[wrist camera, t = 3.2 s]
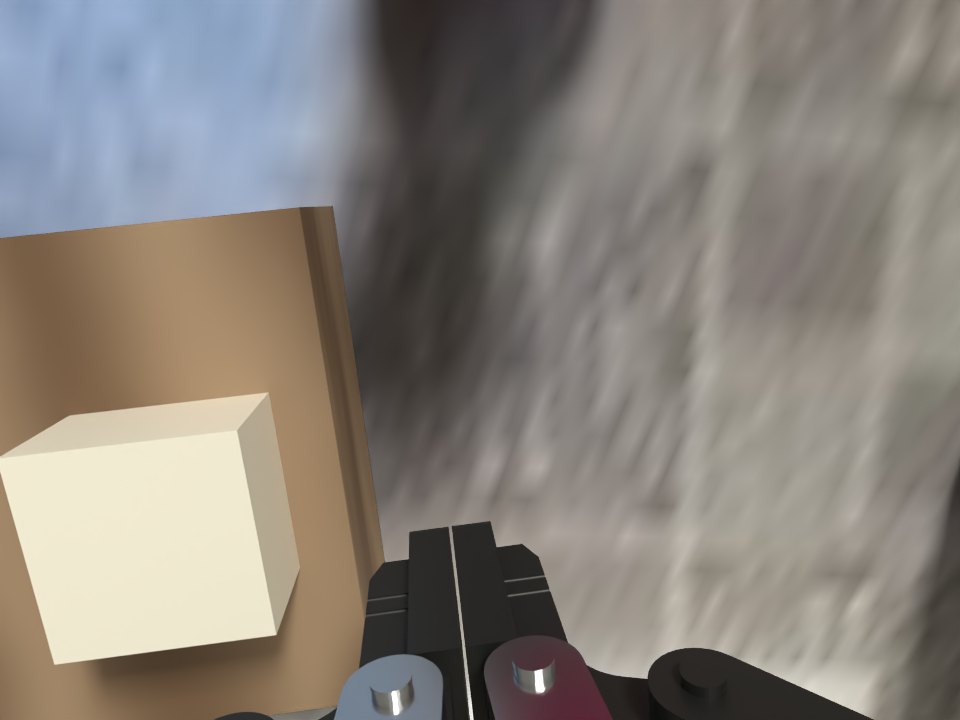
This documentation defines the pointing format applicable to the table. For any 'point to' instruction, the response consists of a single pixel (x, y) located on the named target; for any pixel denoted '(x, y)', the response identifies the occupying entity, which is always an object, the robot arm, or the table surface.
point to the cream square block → (155, 527)
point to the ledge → (184, 378)
